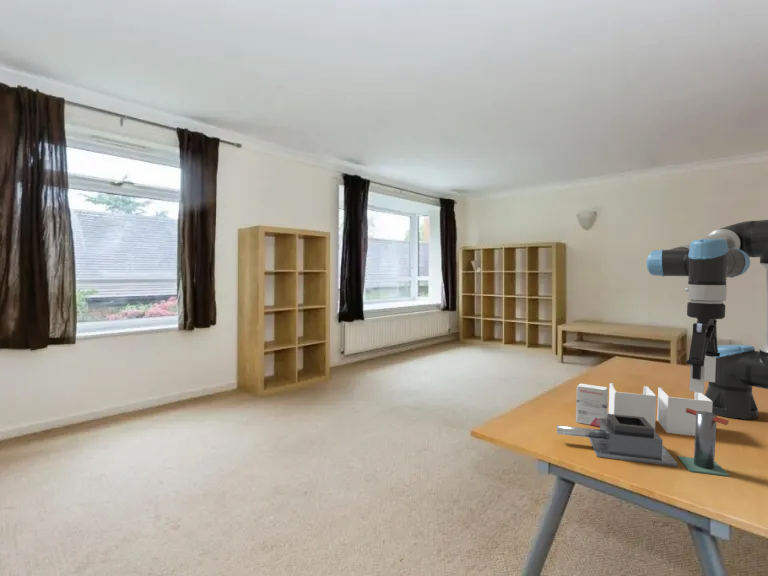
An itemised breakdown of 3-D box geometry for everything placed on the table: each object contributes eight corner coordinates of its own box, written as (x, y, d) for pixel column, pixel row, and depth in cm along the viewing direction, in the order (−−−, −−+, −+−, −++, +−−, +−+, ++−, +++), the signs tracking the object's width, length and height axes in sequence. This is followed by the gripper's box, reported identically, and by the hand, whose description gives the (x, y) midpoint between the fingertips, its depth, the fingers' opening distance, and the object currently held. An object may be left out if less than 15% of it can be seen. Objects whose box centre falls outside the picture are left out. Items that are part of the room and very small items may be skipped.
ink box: (608, 423, 133) (609, 386, 133) (605, 428, 129) (607, 390, 129) (578, 418, 138) (579, 382, 137) (575, 422, 134) (576, 385, 133)
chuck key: (690, 456, 109) (692, 407, 108) (729, 472, 101) (732, 419, 100) (679, 458, 108) (682, 408, 107) (718, 475, 99) (721, 421, 99)
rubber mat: (713, 461, 107) (713, 460, 107) (729, 476, 100) (729, 474, 100) (677, 457, 110) (677, 455, 109) (689, 471, 102) (689, 469, 102)
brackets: (614, 426, 131) (615, 392, 130) (608, 415, 141) (609, 383, 141) (710, 438, 122) (712, 401, 122) (697, 425, 133) (699, 391, 132)
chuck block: (658, 444, 118) (659, 415, 117) (676, 466, 104) (678, 435, 104) (554, 432, 126) (555, 406, 125) (559, 452, 112) (560, 422, 112)
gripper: (698, 298, 115) (695, 374, 117) (675, 304, 98) (671, 393, 100) (733, 299, 110) (730, 379, 111) (715, 306, 93) (711, 400, 94)
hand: (702, 386), depth 105 cm, fingers open, 13 cm apart
